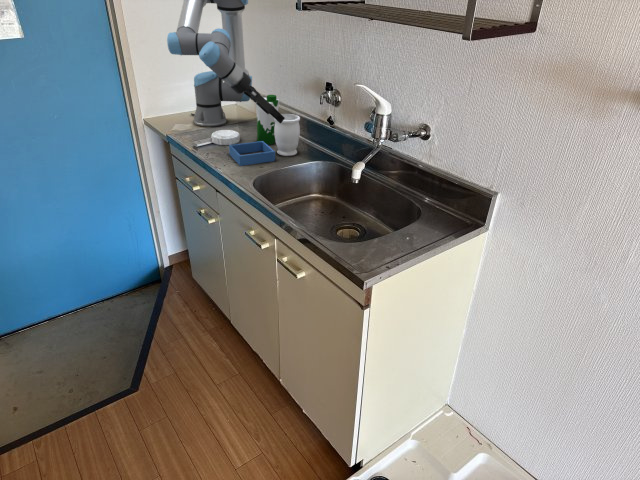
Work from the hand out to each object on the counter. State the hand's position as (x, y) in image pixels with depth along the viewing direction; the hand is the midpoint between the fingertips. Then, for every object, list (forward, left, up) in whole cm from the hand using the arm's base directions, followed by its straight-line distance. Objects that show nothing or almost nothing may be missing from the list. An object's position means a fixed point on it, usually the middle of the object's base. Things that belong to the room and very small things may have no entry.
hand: (275, 116), depth 186 cm
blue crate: (0, -11, -16) cm, 19 cm away
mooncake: (-23, -14, -16) cm, 32 cm away
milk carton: (-16, +3, -16) cm, 23 cm away
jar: (0, +5, -16) cm, 17 cm away
